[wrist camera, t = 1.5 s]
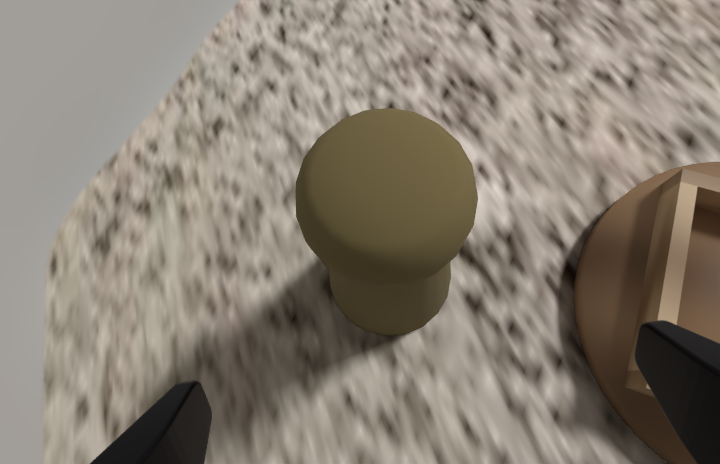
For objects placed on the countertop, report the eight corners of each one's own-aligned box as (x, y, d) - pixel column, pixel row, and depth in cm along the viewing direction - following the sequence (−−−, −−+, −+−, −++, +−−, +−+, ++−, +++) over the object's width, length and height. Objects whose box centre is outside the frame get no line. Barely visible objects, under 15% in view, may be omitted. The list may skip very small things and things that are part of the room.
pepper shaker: (304, 281, 21) (217, 186, 11) (381, 195, 22) (369, 37, 12) (398, 363, 19) (401, 344, 9) (475, 265, 21) (556, 152, 10)
